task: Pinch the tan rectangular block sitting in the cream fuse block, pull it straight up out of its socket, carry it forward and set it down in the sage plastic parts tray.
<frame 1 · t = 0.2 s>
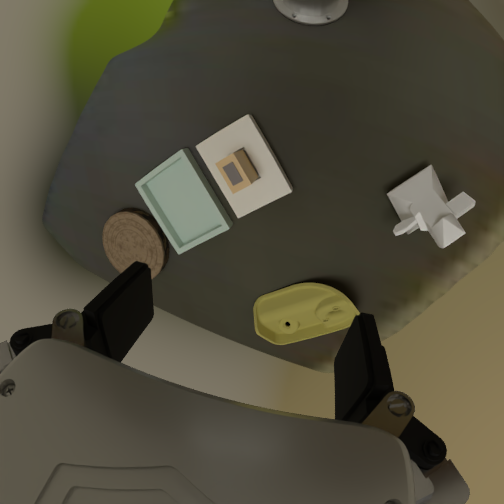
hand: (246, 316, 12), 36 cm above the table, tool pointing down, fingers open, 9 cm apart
wood slice coaster: (138, 242, 56), on the table
plastic component: (307, 306, 55), on the table
parts tray: (184, 201, 49), on the table
tan rectangular block: (245, 165, 44), point 1 cm above the table, touching fuse block
white faceted figurine: (412, 196, 41), on the table
fuse block: (246, 165, 45), on the table
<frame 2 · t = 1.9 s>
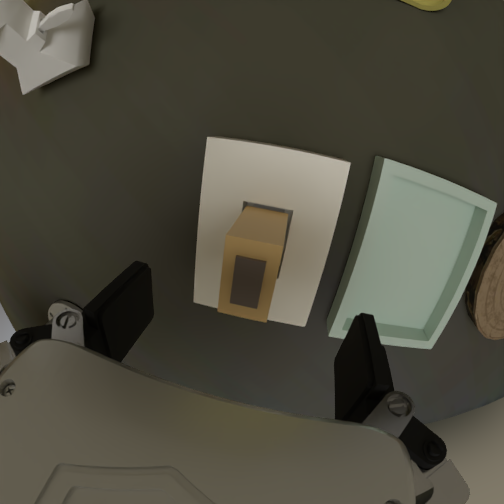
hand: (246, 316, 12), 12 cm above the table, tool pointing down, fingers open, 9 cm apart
parts tray: (410, 260, 22), on the table
tan rectangular block: (265, 232, 22), point 1 cm above the table, touching fuse block
white faceted figurine: (72, 49, 18), on the table
fuse block: (266, 228, 23), on the table
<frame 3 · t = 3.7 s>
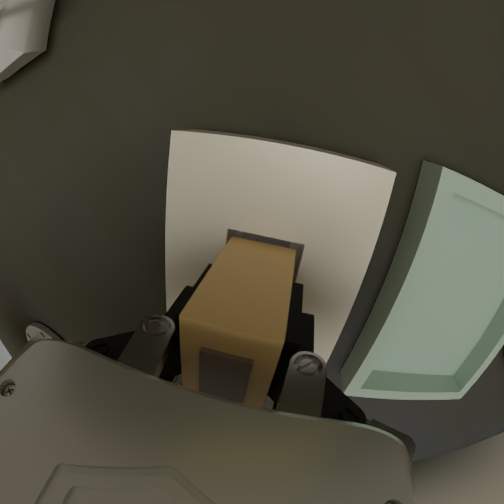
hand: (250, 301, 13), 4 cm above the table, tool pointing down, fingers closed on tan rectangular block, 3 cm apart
parts tray: (452, 300, 15), on the table
tan rectangular block: (261, 269, 15), point 1 cm above the table, touching gripper
white faceted figurine: (32, 35, 12), on the table
fuse block: (265, 260, 16), on the table
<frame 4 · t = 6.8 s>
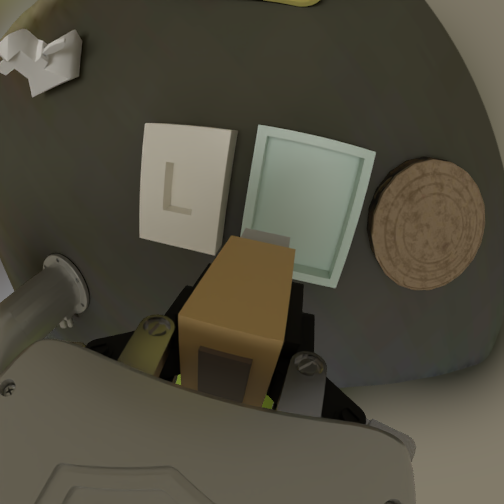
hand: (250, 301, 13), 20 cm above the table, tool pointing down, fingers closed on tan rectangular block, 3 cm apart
wood slice coaster: (424, 220, 29), on the table
parts tray: (302, 205, 30), on the table
tan rectangular block: (261, 268, 15), point 17 cm above the table, touching gripper
white faceted figurine: (67, 64, 26), on the table
fuse block: (188, 183, 31), on the table
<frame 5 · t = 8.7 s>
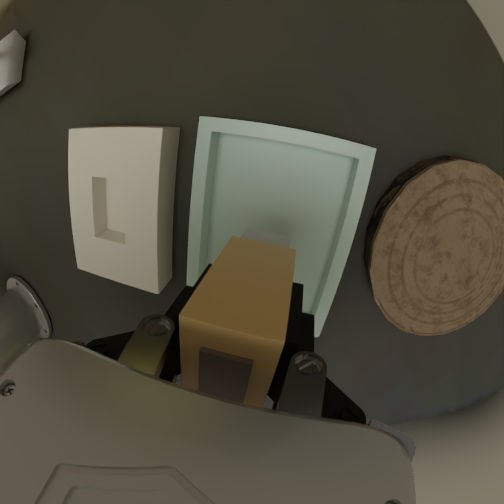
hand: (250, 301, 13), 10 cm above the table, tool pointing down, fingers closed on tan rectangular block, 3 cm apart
wood slice coaster: (442, 243, 20), on the table
parts tray: (271, 227, 22), on the table
tan rectangular block: (261, 268, 15), point 7 cm above the table, touching gripper
white faceted figurine: (13, 68, 18), on the table
fuse block: (126, 200, 23), on the table
when the fingers open (5 cm above the table, at t = 10.3 s): tan rectangular block drops 1 cm, resting on parts tray.
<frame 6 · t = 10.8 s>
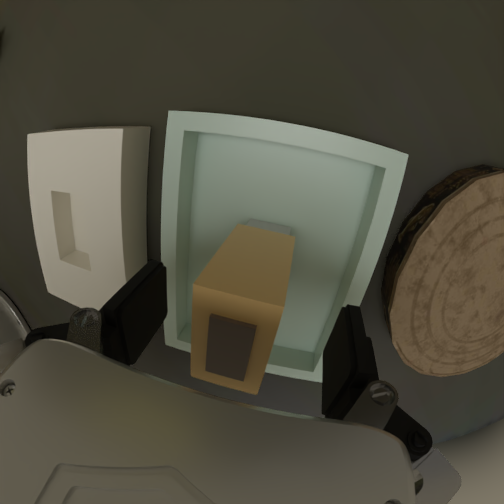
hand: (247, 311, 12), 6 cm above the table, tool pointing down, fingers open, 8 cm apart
wood slice coaster: (472, 271, 15), on the table
parts tray: (266, 254, 17), on the table
tan rectangular block: (264, 256, 17), point 1 cm above the table, touching parts tray
fuse block: (94, 217, 19), on the table
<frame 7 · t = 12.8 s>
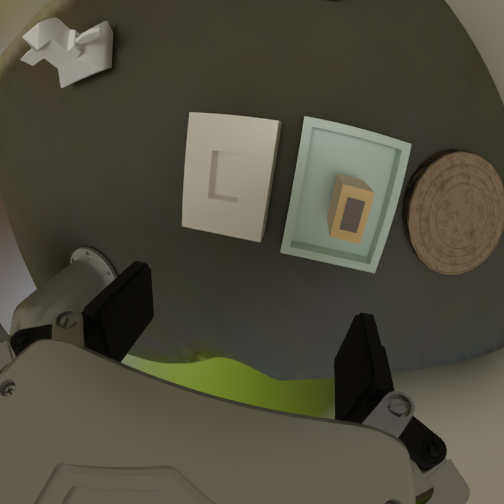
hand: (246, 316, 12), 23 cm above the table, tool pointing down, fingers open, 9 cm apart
wood slice coaster: (452, 209, 28), on the table
parts tray: (343, 194, 31), on the table
tan rectangular block: (343, 194, 30), resting on parts tray
white faceted figurine: (97, 56, 28), on the table
fuse block: (232, 172, 32), on the table
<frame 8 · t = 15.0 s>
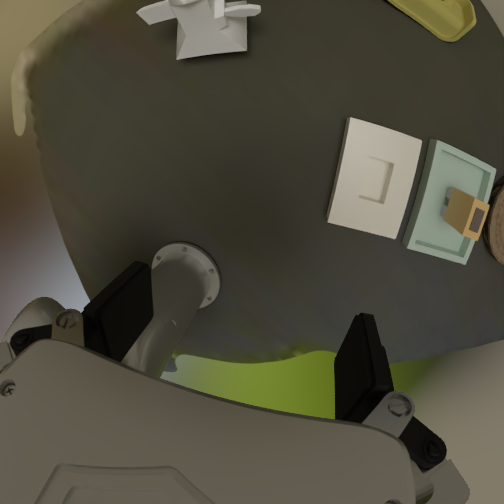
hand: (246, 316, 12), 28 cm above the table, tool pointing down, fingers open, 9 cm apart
parts tray: (448, 202, 33), on the table
tan rectangular block: (450, 202, 32), resting on parts tray
white faceted figurine: (219, 35, 29), on the table
fuse block: (371, 176, 34), on the table
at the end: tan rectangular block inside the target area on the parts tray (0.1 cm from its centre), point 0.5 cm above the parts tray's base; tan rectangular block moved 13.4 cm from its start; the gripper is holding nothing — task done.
